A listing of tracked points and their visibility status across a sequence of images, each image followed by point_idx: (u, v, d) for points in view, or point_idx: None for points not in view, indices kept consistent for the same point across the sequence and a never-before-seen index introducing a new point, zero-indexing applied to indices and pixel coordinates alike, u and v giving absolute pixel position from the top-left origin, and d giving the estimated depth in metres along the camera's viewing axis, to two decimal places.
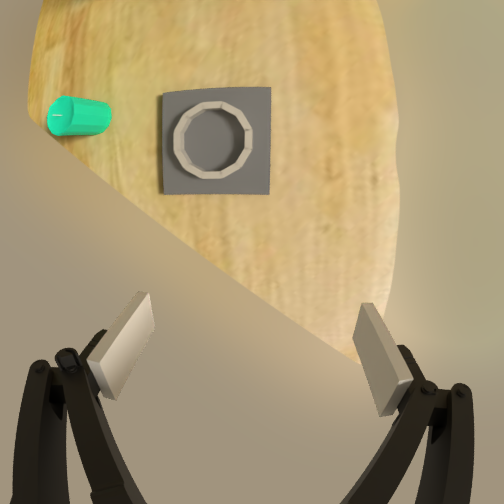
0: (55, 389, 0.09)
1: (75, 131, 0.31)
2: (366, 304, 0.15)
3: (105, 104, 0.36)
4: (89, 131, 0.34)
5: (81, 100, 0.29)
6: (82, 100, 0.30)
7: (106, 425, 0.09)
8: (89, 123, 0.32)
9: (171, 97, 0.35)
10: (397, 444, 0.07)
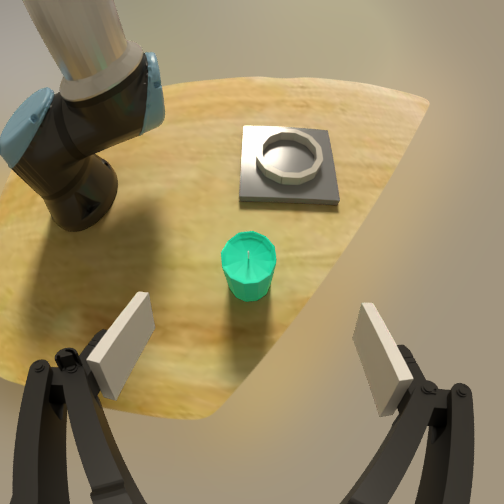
0: (55, 389, 0.09)
1: None
2: (366, 304, 0.15)
3: None
4: None
5: None
6: None
7: (106, 425, 0.09)
8: None
9: (245, 188, 0.43)
10: (397, 444, 0.07)
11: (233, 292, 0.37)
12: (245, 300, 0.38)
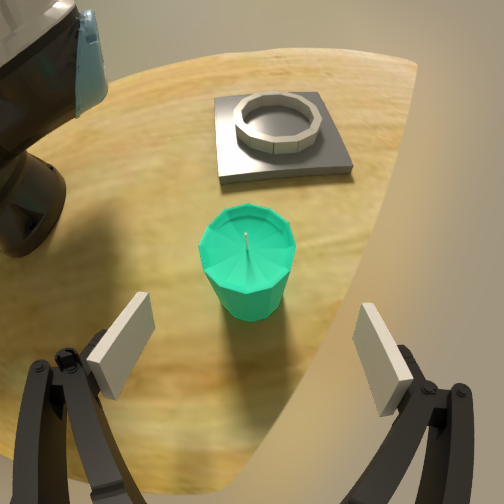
0: (55, 389, 0.09)
1: None
2: (366, 304, 0.15)
3: None
4: None
5: None
6: None
7: (106, 425, 0.09)
8: None
9: (226, 166, 0.31)
10: (397, 444, 0.07)
11: (229, 311, 0.24)
12: (249, 320, 0.24)
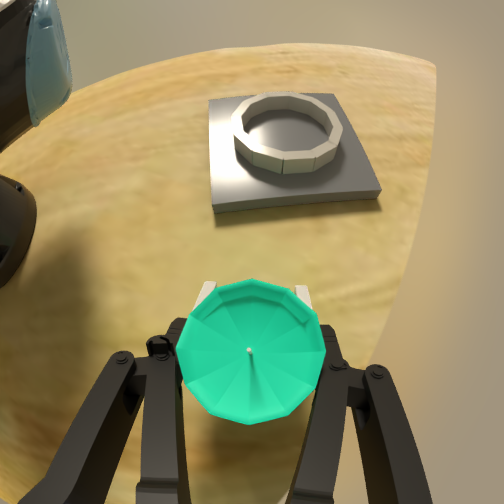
0: (140, 380, 0.11)
1: None
2: (299, 286, 0.17)
3: None
4: None
5: None
6: None
7: (181, 418, 0.10)
8: None
9: (221, 190, 0.24)
10: (321, 425, 0.08)
11: None
12: None
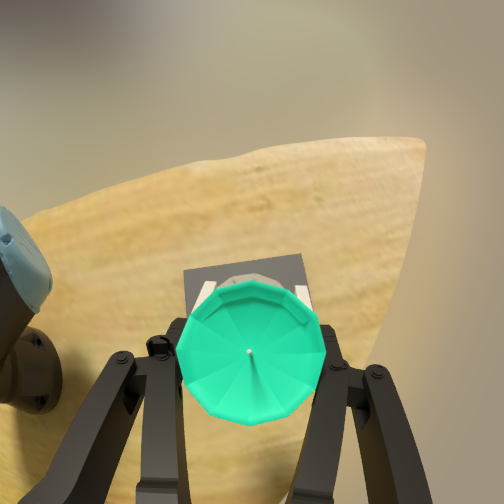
0: (140, 380, 0.11)
1: None
2: (299, 286, 0.17)
3: None
4: None
5: None
6: None
7: (181, 418, 0.10)
8: None
9: None
10: (321, 425, 0.08)
11: None
12: None
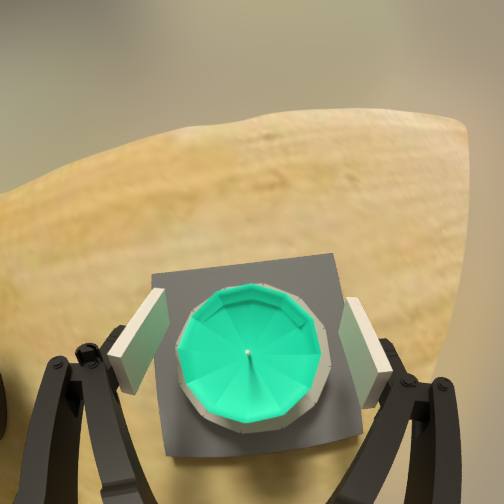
0: (74, 385, 0.10)
1: None
2: (350, 298, 0.16)
3: None
4: None
5: None
6: None
7: (123, 422, 0.09)
8: None
9: (174, 441, 0.17)
10: (380, 438, 0.07)
11: None
12: None
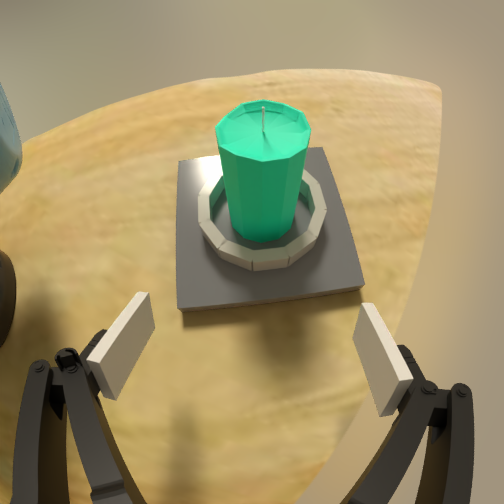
0: (55, 389, 0.09)
1: None
2: (366, 304, 0.15)
3: None
4: None
5: None
6: None
7: (106, 425, 0.09)
8: None
9: (186, 291, 0.23)
10: (397, 444, 0.07)
11: (239, 226, 0.23)
12: (260, 237, 0.23)
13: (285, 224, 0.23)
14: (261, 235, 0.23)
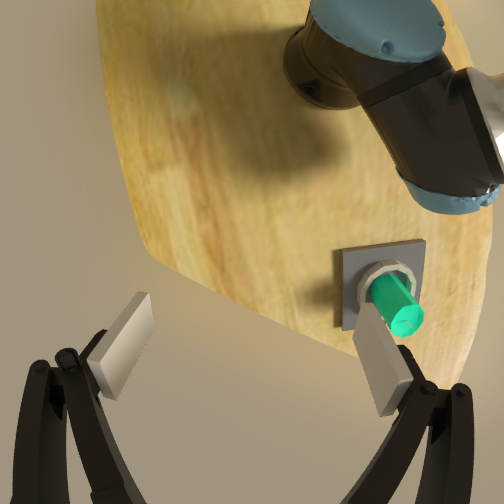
0: (55, 389, 0.09)
1: None
2: (366, 304, 0.15)
3: (397, 278, 0.44)
4: None
5: (414, 299, 0.37)
6: None
7: (106, 425, 0.09)
8: None
9: (351, 256, 0.43)
10: (397, 444, 0.07)
11: (378, 284, 0.43)
12: (372, 291, 0.44)
13: (375, 303, 0.44)
14: (372, 292, 0.44)
